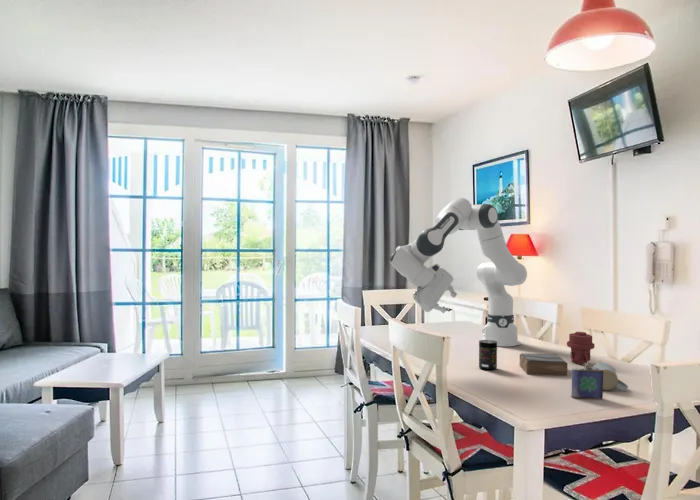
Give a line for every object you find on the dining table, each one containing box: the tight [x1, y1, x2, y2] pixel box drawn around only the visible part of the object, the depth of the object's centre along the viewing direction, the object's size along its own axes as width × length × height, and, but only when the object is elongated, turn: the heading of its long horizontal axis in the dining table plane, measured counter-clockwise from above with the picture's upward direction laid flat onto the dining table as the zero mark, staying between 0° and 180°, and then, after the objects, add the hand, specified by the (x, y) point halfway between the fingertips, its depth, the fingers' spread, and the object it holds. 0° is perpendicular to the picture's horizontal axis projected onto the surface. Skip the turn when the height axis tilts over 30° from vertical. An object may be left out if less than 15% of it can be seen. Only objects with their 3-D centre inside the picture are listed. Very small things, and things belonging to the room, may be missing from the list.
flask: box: [570, 362, 604, 401], centre depth 155 cm, size 9×3×11 cm, turn 84°
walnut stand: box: [519, 352, 568, 377], centre depth 189 cm, size 13×14×5 cm
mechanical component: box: [566, 331, 596, 366], centre depth 200 cm, size 12×10×10 cm
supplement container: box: [478, 339, 498, 372], centre depth 191 cm, size 7×7×10 cm
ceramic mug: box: [592, 362, 629, 392], centre depth 165 cm, size 11×8×8 cm
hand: (450, 303), depth 196 cm, fingers open, 8 cm apart
